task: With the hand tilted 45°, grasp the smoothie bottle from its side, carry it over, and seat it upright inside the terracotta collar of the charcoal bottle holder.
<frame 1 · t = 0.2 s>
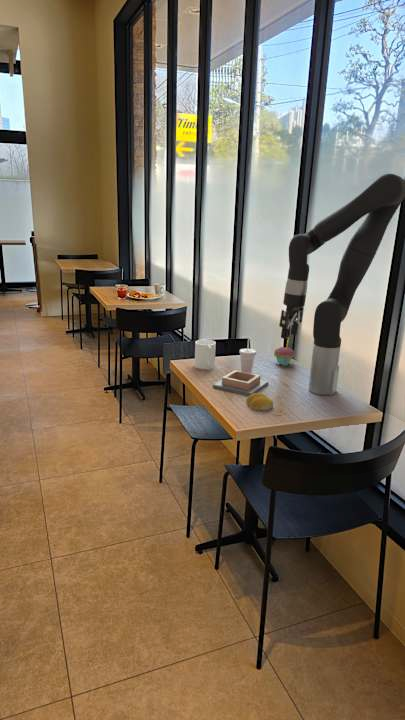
hand: (288, 336, 176), 18 cm above the table, tool pointing down, fingers open, 8 cm apart
bottle holder: (240, 386, 176), on the table
smoothie: (246, 374, 189), on the table
cupcake: (283, 364, 204), on the table
cup: (205, 368, 195), on the table
bread roll: (259, 406, 159), on the table
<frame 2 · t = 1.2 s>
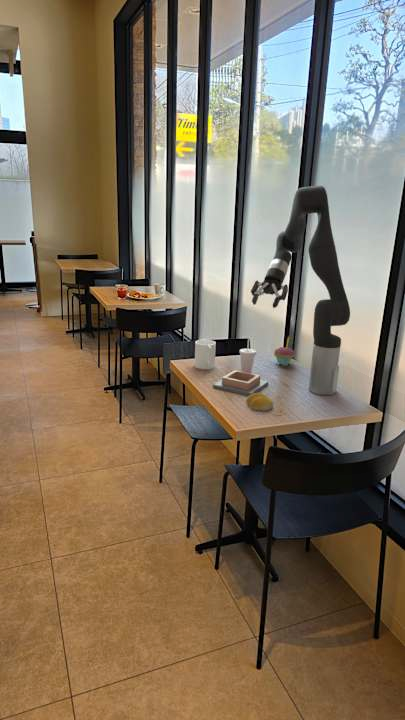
hand: (263, 305, 192), 25 cm above the table, tool tilted 45°, fingers open, 8 cm apart
nothing on the table moved.
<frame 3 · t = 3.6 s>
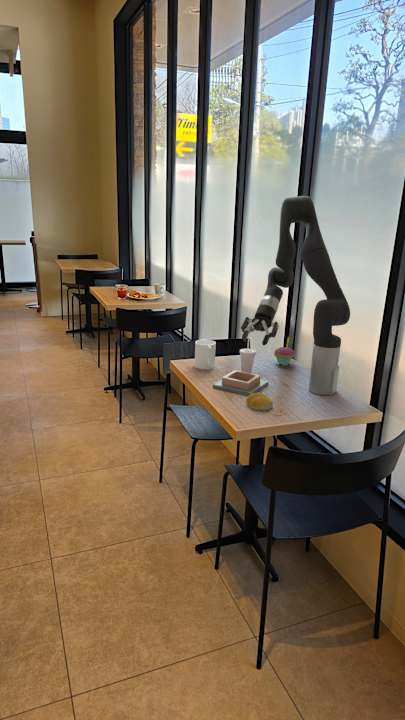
hand: (253, 342, 189), 12 cm above the table, tool tilted 45°, fingers open, 8 cm apart
nothing on the table moved.
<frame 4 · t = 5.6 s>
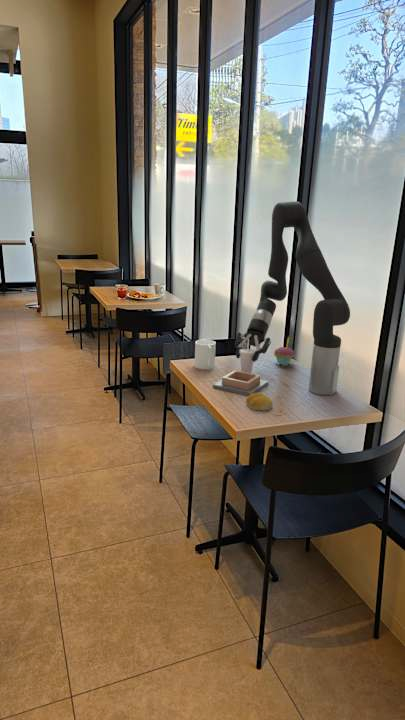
hand: (245, 358, 185), 7 cm above the table, tool tilted 45°, fingers closed on smoothie, 6 cm apart
smoothie: (246, 374, 189), on the table, touching gripper
everything else where it was.
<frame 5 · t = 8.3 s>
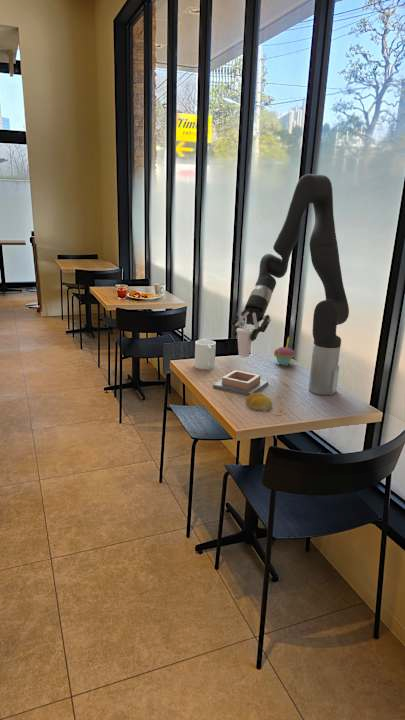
hand: (242, 338, 170), 18 cm above the table, tool tilted 45°, fingers closed on smoothie, 6 cm apart
smoothie: (243, 356, 174), point 11 cm above the table, touching gripper
everything else where it was.
when the fingers open (9 cm above the table, at t = 11.1 s): smoothie drops 1 cm, resting on bottle holder.
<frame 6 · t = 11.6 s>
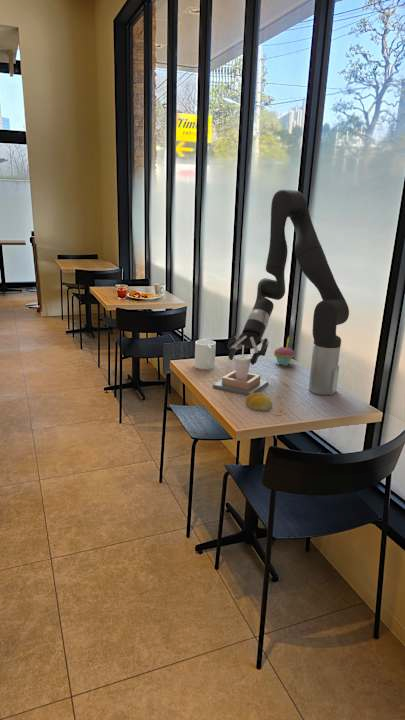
hand: (241, 361, 172), 10 cm above the table, tool tilted 45°, fingers open, 8 cm apart
smoothie: (241, 383, 176), point 1 cm above the table, touching bottle holder
everything else where it was.
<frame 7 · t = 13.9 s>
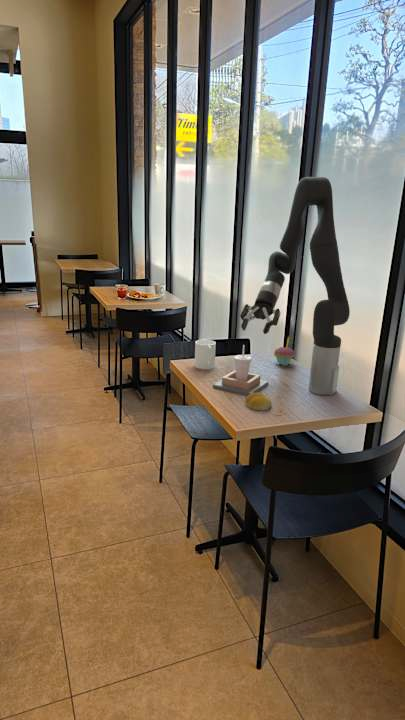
hand: (253, 331, 177), 19 cm above the table, tool tilted 45°, fingers open, 8 cm apart
nothing on the table moved.
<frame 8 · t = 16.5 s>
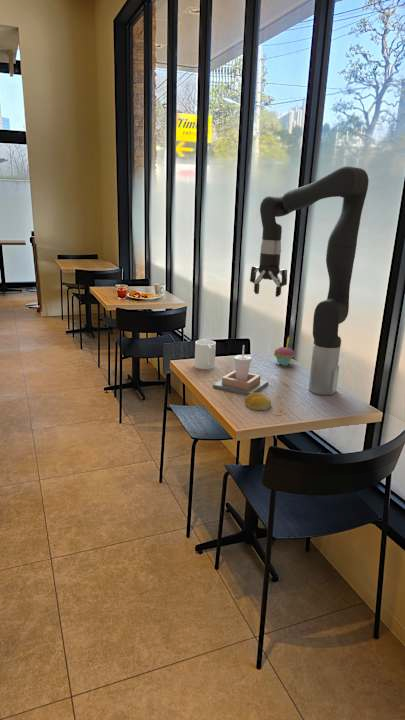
hand: (267, 295, 187), 30 cm above the table, tool pointing down, fingers open, 8 cm apart
nothing on the table moved.
at the end: smoothie 0.2 cm off-centre on the bottle holder, point 1.0 cm above the bottle holder's base; smoothie tilted 0°; the gripper is holding nothing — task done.
